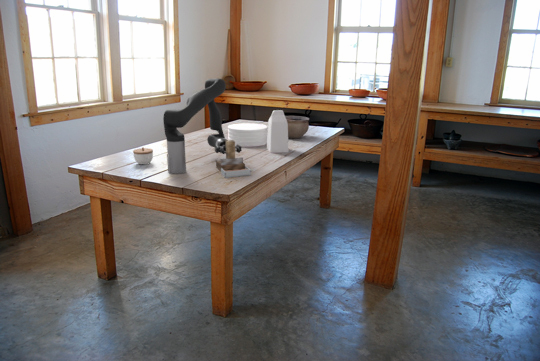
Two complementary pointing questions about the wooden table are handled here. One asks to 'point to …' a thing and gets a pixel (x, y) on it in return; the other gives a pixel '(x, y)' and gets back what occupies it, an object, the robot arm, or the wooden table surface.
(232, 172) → the tray
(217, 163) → the board
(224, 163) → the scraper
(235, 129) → the plate stack
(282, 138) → the milk
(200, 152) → the wooden table surface
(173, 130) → the robot arm
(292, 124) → the ceramic bowl
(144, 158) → the lidded jar
